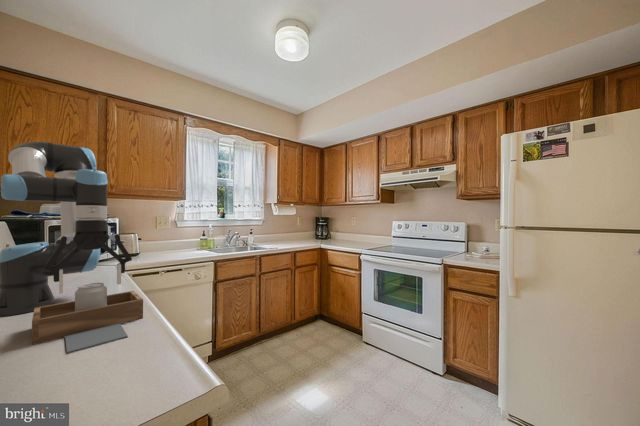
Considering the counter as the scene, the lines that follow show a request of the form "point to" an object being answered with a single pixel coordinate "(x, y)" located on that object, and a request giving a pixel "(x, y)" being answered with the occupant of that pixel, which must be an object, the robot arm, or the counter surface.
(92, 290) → the can
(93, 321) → the box frame
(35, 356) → the counter surface
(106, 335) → the mat
